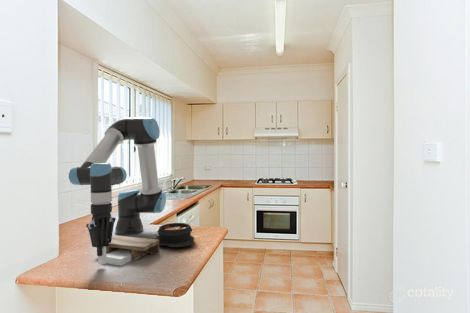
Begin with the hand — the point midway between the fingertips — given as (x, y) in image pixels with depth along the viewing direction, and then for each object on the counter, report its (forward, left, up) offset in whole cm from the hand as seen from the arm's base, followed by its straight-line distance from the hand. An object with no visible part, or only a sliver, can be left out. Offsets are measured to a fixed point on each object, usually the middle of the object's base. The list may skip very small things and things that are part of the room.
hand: (102, 263), depth 115 cm
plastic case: (-11, +1, -2) cm, 11 cm away
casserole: (-36, +11, -2) cm, 38 cm away
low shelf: (-15, 0, -2) cm, 15 cm away
